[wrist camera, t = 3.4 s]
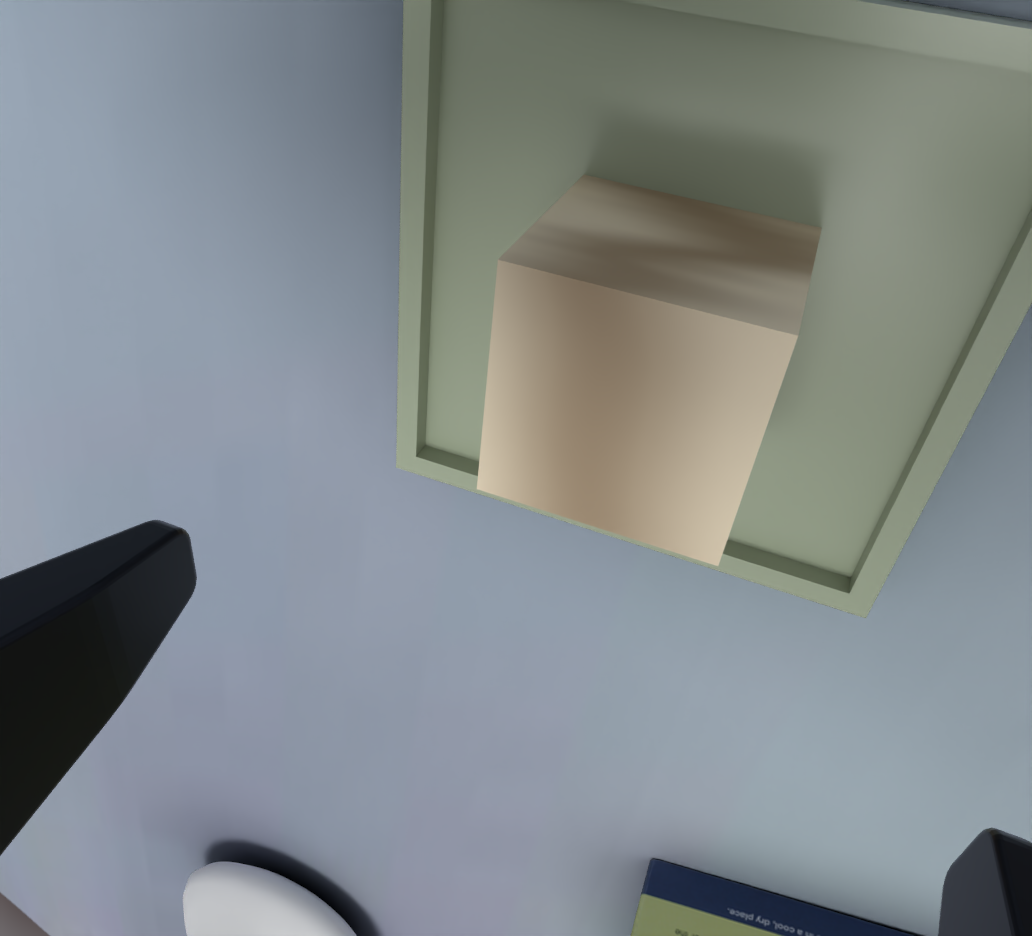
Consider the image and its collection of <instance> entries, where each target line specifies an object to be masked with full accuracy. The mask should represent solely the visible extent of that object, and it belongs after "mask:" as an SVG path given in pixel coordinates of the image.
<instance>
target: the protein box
mask: <svg viewBox="0 0 1032 936" xmlns="http://www.w3.org/2000/svg"><path fill="white" fill-rule="evenodd" d="M631 936H914V935H910V934H907V933H903V932H900V931H897V930H893V929H890V928H887V927H883V926H880V925H877V924H873V923H870V922H866V921H863V920H860V919H856V918H853V917H850V916H846V915H843V914H840V913H836V912H833V911H830V910H826V909H823V908H820V907H816V906H813V905H810V904H806V903H803V902H800V901H796V900H793V899H789V898H786V897H783V896H779V895H776V894H773V893H769V892H766V891H763V890H759V889H756V888H752V887H749V886H746V885H742V884H739V883H735V882H732V881H728V880H725V879H722V878H718V877H715V876H711V875H708V874H704V873H701V872H698V871H694V870H691V869H688V868H685V867H681V866H678V865H675V864H671V863H668V862H665V861H661V860H656V859H653V860H651V861H650V863H649V867H648V871H647V875H646V878H645V882H644V885H643V889H642V893H641V897H640V901H639V905H638V909H637V913H636V917H635V921H634V925H633V929H632V933H631Z"/></svg>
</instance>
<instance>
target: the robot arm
mask: <svg viewBox="0 0 1032 936" xmlns="http://www.w3.org/2000/svg"><path fill="white" fill-rule="evenodd" d="M196 580H197V576H196V569H195V563H194V558H193V552H192V546H191V540H190V537H189V534H188V533H187V532H186V531H185V530H184V529H182V528H180V527H177V526H174V525H172V524H169V523H166V522H164V521H160V520H152V521H148V522H145V523H142V524H140V525H137V526H134V527H132V528H129V529H127V530H124V531H122V532H119V533H116V534H114V535H111V536H109V537H106V538H104V539H101V540H99V541H96V542H93V543H91V544H88V545H86V546H83V547H81V548H78V549H76V550H73V551H70V552H68V553H65V554H63V555H60V556H58V557H55V558H52V559H50V560H47V561H45V562H42V563H40V564H37V565H35V566H32V567H29V568H27V569H24V570H22V571H19V572H17V573H14V574H11V575H9V576H6V577H4V578H1V579H0V855H1V854H2V853H3V852H4V850H5V849H6V848H7V847H8V845H9V844H10V843H11V842H12V840H13V839H14V838H15V837H16V835H17V834H18V833H19V832H20V830H21V829H22V828H23V827H24V825H25V824H26V823H27V822H28V820H29V819H30V818H31V817H32V815H33V814H34V813H35V812H36V811H37V809H38V808H39V807H40V806H41V804H42V803H43V802H44V801H45V799H46V798H47V797H48V796H49V794H50V793H51V792H52V791H53V789H54V788H55V787H56V786H57V784H58V783H59V782H60V781H61V779H62V778H63V777H64V776H65V774H66V773H67V772H68V771H69V769H70V768H71V767H72V766H73V764H74V763H75V762H76V761H77V759H78V758H79V757H80V756H81V754H82V753H83V752H84V751H85V749H86V748H87V747H88V746H89V744H90V743H91V742H92V741H93V739H94V738H95V737H96V736H97V734H98V733H99V732H100V731H101V729H102V728H103V727H104V726H105V724H106V723H107V722H108V721H109V719H110V718H111V717H112V715H113V714H114V713H115V711H116V710H117V709H118V708H119V706H120V705H121V704H122V702H123V701H124V699H125V698H126V697H127V695H128V694H129V692H130V691H131V689H132V688H133V686H134V685H135V683H136V682H137V680H138V679H139V677H140V676H141V674H142V672H143V671H144V669H145V668H146V666H147V665H148V663H149V662H150V660H151V659H152V657H153V655H154V654H155V652H156V651H157V649H158V648H159V646H160V645H161V643H162V641H163V640H164V638H165V637H166V635H167V634H168V632H169V631H170V629H171V628H172V626H173V624H174V623H175V621H176V620H177V618H178V617H179V615H180V614H181V612H182V610H183V609H184V607H185V606H186V604H187V603H188V601H189V600H190V598H191V596H192V594H193V592H194V589H195V586H196ZM938 936H1032V843H1031V842H1029V841H1027V840H1025V839H1023V838H1020V837H1017V836H1015V835H1012V834H1009V833H1006V832H1004V831H1001V830H998V829H995V828H989V829H985V830H983V831H982V832H981V833H980V834H979V835H978V836H977V837H976V838H975V839H974V840H973V842H972V843H971V844H970V845H969V846H968V847H967V848H966V849H965V850H964V852H963V853H962V854H961V855H960V856H959V857H958V858H957V859H956V860H955V862H954V863H953V864H952V865H951V867H950V868H949V870H948V872H947V875H946V878H945V881H944V885H943V893H942V903H941V912H940V922H939V932H938Z"/></svg>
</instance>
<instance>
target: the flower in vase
mask: <svg viewBox="0 0 1032 936" xmlns="http://www.w3.org/2000/svg"><path fill="white" fill-rule="evenodd" d="M183 907H184V920H185V927H186V932H187V936H357V935H356V934H355V933H354V931H353V930H352V929H351V928H350V926H349V925H348V924H347V922H346V921H345V920H344V919H343V918H342V917H341V916H340V915H339V914H338V913H337V912H336V911H334V910H333V909H332V908H331V907H330V906H329V905H328V904H326V903H325V902H324V901H323V900H321V899H320V898H319V897H317V896H316V895H315V894H313V893H311V892H310V891H308V890H307V889H305V888H303V887H302V886H300V885H298V884H296V883H295V882H293V881H291V880H289V879H287V878H285V877H283V876H281V875H279V874H276V873H274V872H271V871H268V870H266V869H262V868H259V867H255V866H251V865H246V864H241V863H235V862H214V863H210V864H208V865H206V866H204V867H202V868H200V869H197V870H195V871H194V872H193V873H191V875H190V876H189V878H188V881H187V884H186V888H185V891H184V895H183Z"/></svg>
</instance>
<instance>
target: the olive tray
mask: <svg viewBox="0 0 1032 936" xmlns="http://www.w3.org/2000/svg"><path fill="white" fill-rule="evenodd" d="M583 175H588V176H593V177H597V178H602V179H606V180H611V181H615V182H619V183H624V184H628V185H633V186H637V187H642V188H646V189H651V190H655V191H660V192H664V193H668V194H673V195H677V196H682V197H686V198H691V199H695V200H700V201H704V202H709V203H713V204H717V205H722V206H726V207H731V208H735V209H740V210H744V211H749V212H753V213H758V214H762V215H766V216H771V217H775V218H780V219H784V220H789V221H793V222H798V223H802V224H807V225H811V226H815V227H820V228H822V229H821V234H820V238H819V243H818V248H817V252H816V257H815V261H814V266H813V271H812V275H811V280H810V284H809V289H808V294H807V298H806V303H805V307H804V312H803V317H802V321H801V326H800V330H799V335H798V338H797V341H796V344H795V347H794V350H793V353H792V355H791V358H790V361H789V364H788V367H787V370H786V373H785V376H784V378H783V381H782V384H781V387H780V390H779V393H778V396H777V399H776V402H775V404H774V407H773V410H772V413H771V416H770V419H769V422H768V425H767V427H766V430H765V433H764V436H763V439H762V442H761V445H760V448H759V450H758V453H757V456H756V459H755V462H754V465H753V468H752V471H751V473H750V476H749V479H748V482H747V485H746V488H745V491H744V494H743V496H742V499H741V502H740V505H739V508H738V511H737V514H736V517H735V519H734V522H733V525H732V528H731V531H730V534H729V537H728V540H727V542H726V545H725V548H724V551H723V554H722V557H721V560H720V563H719V565H718V566H715V565H712V564H709V563H706V562H703V561H700V560H697V559H693V558H690V557H687V556H684V555H681V554H678V553H675V552H672V551H668V550H665V549H662V548H659V547H656V546H653V545H650V544H647V543H644V542H640V541H637V540H634V539H631V538H628V537H625V536H622V535H619V534H615V533H612V532H609V531H606V530H603V529H600V528H597V527H594V526H590V525H587V524H584V523H581V522H578V521H575V520H572V519H569V518H565V517H562V516H559V515H556V514H553V513H550V512H547V511H544V510H540V509H537V508H534V507H531V506H528V505H525V504H522V503H519V502H515V501H512V500H509V499H506V498H503V497H500V496H497V495H494V494H490V493H487V492H484V491H481V490H478V489H477V481H478V470H479V459H480V448H481V437H482V426H483V415H484V405H485V394H486V383H487V372H488V361H489V350H490V339H491V329H492V318H493V307H494V296H495V285H496V274H497V263H498V259H499V258H500V257H501V256H502V255H503V254H504V253H505V252H506V251H507V250H508V249H509V248H510V247H511V246H512V245H513V244H514V243H515V242H516V241H517V240H518V239H519V238H520V237H521V236H522V235H523V234H524V233H525V232H526V231H527V230H528V229H529V228H530V227H531V226H532V225H533V224H534V223H535V222H536V221H537V220H538V219H539V218H540V217H541V216H542V215H543V214H544V213H545V212H546V211H547V210H548V209H549V208H550V207H551V206H552V205H554V204H555V203H556V202H557V201H558V200H559V199H560V198H561V197H562V196H563V195H564V194H565V193H566V192H567V191H568V190H569V189H570V188H571V187H572V186H573V185H574V184H575V183H576V182H577V181H578V180H579V179H580V178H581V177H582V176H583ZM1031 304H1032V21H1026V20H1020V19H1014V18H1008V17H1001V16H995V15H989V14H983V13H977V12H971V11H964V10H958V9H952V8H946V7H940V6H934V5H928V4H921V3H915V2H909V1H903V0H403V57H402V123H401V189H400V255H399V321H398V387H397V453H396V468H400V469H403V470H406V471H409V472H412V473H415V474H418V475H421V476H424V477H428V478H431V479H434V480H437V481H440V482H443V483H446V484H449V485H453V486H456V487H459V488H462V489H465V490H468V491H471V492H474V493H477V494H481V495H484V496H487V497H490V498H493V499H496V500H499V501H502V502H505V503H509V504H512V505H515V506H518V507H521V508H524V509H527V510H530V511H533V512H537V513H540V514H543V515H546V516H549V517H552V518H555V519H558V520H561V521H565V522H568V523H571V524H574V525H577V526H580V527H583V528H586V529H589V530H593V531H596V532H599V533H602V534H605V535H608V536H611V537H614V538H617V539H621V540H624V541H627V542H630V543H633V544H636V545H639V546H642V547H646V548H649V549H652V550H655V551H658V552H661V553H664V554H667V555H670V556H674V557H677V558H680V559H683V560H686V561H689V562H692V563H695V564H698V565H702V566H705V567H708V568H711V569H714V570H717V571H720V572H723V573H726V574H730V575H733V576H736V577H739V578H742V579H745V580H748V581H751V582H754V583H758V584H761V585H764V586H767V587H770V588H773V589H776V590H779V591H782V592H786V593H789V594H792V595H795V596H798V597H801V598H804V599H807V600H811V601H814V602H817V603H820V604H823V605H826V606H829V607H832V608H835V609H839V610H842V611H845V612H848V613H851V614H854V615H857V616H860V617H863V618H866V617H867V615H868V613H869V611H870V609H871V607H872V605H873V603H874V602H875V600H876V598H877V596H878V594H879V592H880V590H881V588H882V586H883V584H884V583H885V581H886V579H887V577H888V575H889V573H890V571H891V569H892V567H893V565H894V564H895V562H896V560H897V558H898V556H899V554H900V552H901V550H902V548H903V547H904V545H905V543H906V541H907V539H908V537H909V535H910V533H911V531H912V529H913V528H914V526H915V524H916V522H917V520H918V518H919V516H920V514H921V512H922V511H923V509H924V507H925V505H926V503H927V501H928V499H929V497H930V495H931V493H932V492H933V490H934V488H935V486H936V484H937V482H938V480H939V478H940V476H941V474H942V473H943V471H944V469H945V467H946V465H947V463H948V461H949V459H950V457H951V456H952V454H953V452H954V450H955V448H956V446H957V444H958V442H959V440H960V438H961V437H962V435H963V433H964V431H965V429H966V427H967V425H968V423H969V421H970V419H971V418H972V416H973V414H974V412H975V410H976V408H977V406H978V404H979V402H980V401H981V399H982V397H983V395H984V393H985V391H986V389H987V387H988V385H989V383H990V382H991V380H992V378H993V376H994V374H995V372H996V370H997V368H998V366H999V365H1000V363H1001V361H1002V359H1003V357H1004V355H1005V353H1006V351H1007V349H1008V347H1009V346H1010V344H1011V342H1012V340H1013V338H1014V336H1015V334H1016V332H1017V330H1018V328H1019V327H1020V325H1021V323H1022V321H1023V319H1024V317H1025V315H1026V313H1027V311H1028V310H1029V308H1030V306H1031Z"/></svg>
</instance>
